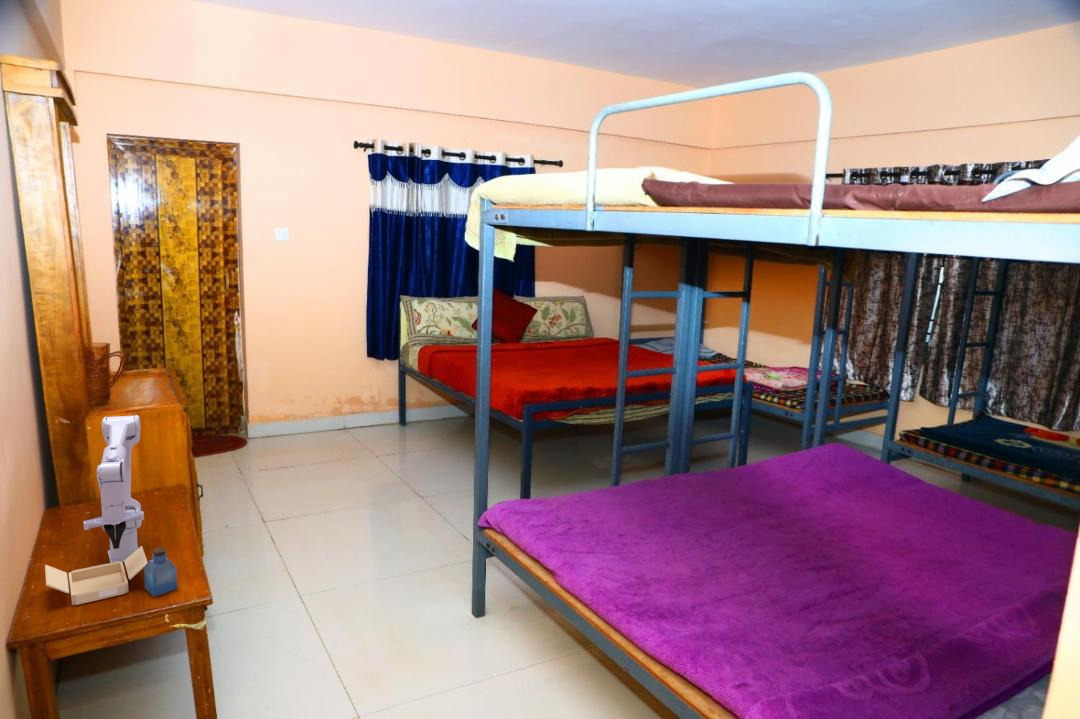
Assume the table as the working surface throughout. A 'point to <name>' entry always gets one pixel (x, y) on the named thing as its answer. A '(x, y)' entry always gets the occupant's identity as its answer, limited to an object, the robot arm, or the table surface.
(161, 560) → the perfume bottle
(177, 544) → the table surface
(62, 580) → the flap
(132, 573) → the flap
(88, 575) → the carton
